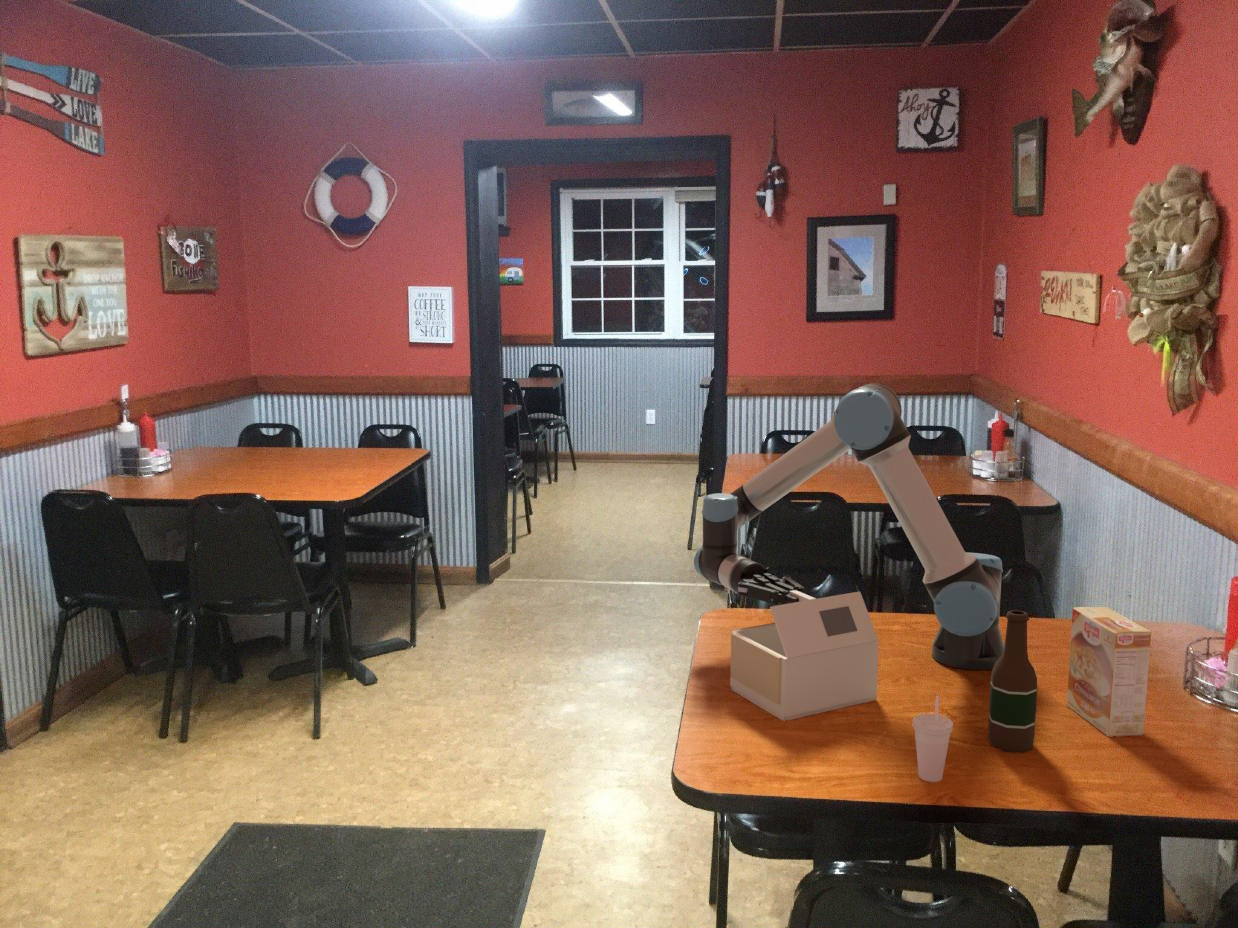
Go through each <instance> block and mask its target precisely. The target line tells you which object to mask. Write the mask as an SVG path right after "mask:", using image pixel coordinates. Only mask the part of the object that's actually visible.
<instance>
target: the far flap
mask: <svg viewBox="0 0 1238 928" xmlns="http://www.w3.org/2000/svg"><path fill="white" fill-rule="evenodd" d="M769 610H770V613H771V615H772V616H771V617H772V619H773V621H774V622H773V623H775V625H776V628H777V631H778V634H779V637H780V640H781V643H782V646H783V649H784V652H785V655H786V657H787V659H789V658H794V657H799V656H804V655H809V654H814V653H819V652H824V651H829V650H834V649H839V648H844V647H849V646H854V645H859V644H865V643H870V642H875V641H879V638H878V635H877V634H876V630H875V627H874V625H873V622H872V620H871V616H870V614H869V611H868V609H867V607H866V604H865V601H864V598H863V594H862V593H861V591H855V592H849V593H844V594H837V595H836V594H835V595H831V596H826V597H819V598H816V599H813V600H807V601H801V602H795V603H789V604H783V605H782V604H776V605H773V606H770V607H769Z"/></svg>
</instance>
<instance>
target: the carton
mask: <svg viewBox="0 0 1238 928" xmlns="http://www.w3.org/2000/svg"><path fill="white" fill-rule="evenodd" d="M879 642H880V641H879V640H878V641H875V642H870V643H865V644H859V645H854V646H849V647H844V648H839V649H834V650H829V651H824V652H819V653H814V654H809V655H804V656H799V657H794V658H789V659H787V657H786V655H785V652H784V649H783V646H782V643H781V640H780V637H779V634H778V631H777V628H776V625H775V622H771V623H770V622H769V623H765V624H759V625H753V626H748V627H743V628H737V629H736V628H735V629H731V631H730V677H729V678H730V687H729V690H731V691H732V692H734V693H736V694H738V695H739V696H741V697H742V698H744V699H746V700H748V701H749V702H751V703H753V704H754V705H755V706H758V707H759V708H761V709H762V710H763V711H766V712H767V713H769V714H771V715H772V716H774V717H776V718H778V720H780V721H782V722H787V721H792V720H795V719H796V720H797V719H800V718H804V717H805V718H806V717H808V716H812V715H813V716H814V715H817V714H822V713H825V712H830V711H835V710H838V709H843V708H847V707H848V708H849V707H852V706H856V705H860V704H861V705H862V704H864V703H869V702H874V701H877V696H878V669H879V668H878V667H879V666H878V665H879V664H878V663H879ZM786 720H787V721H786Z"/></svg>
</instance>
